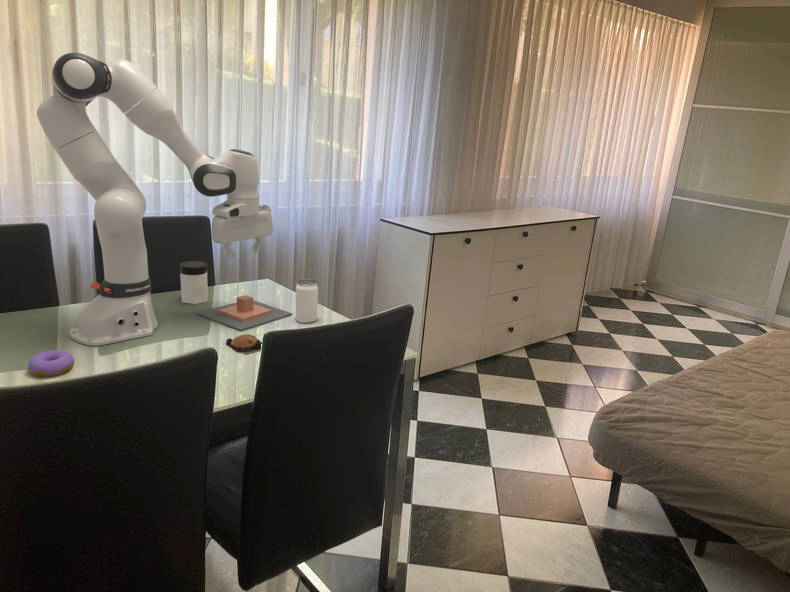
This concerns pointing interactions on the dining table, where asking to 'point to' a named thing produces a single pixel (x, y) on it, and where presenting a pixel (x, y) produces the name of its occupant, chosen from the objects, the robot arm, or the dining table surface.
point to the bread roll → (245, 344)
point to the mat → (242, 326)
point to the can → (306, 301)
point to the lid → (245, 309)
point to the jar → (194, 282)
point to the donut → (51, 363)
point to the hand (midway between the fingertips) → (244, 254)
